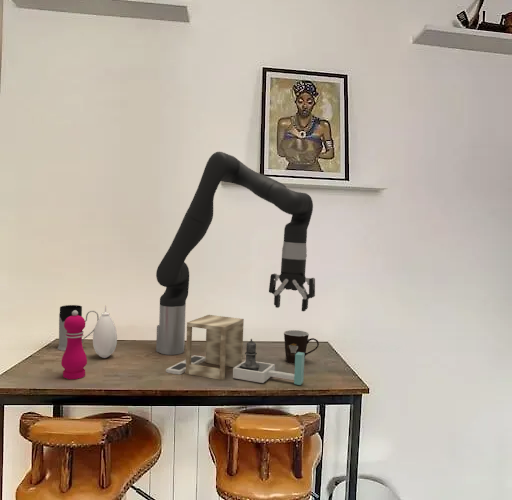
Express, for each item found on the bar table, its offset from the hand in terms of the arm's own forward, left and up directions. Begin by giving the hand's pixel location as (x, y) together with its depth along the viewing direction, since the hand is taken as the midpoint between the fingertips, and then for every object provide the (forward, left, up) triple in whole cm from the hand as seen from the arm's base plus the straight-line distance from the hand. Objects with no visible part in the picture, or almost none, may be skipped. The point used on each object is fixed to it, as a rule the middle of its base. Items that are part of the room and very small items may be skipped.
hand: (290, 309), depth 150 cm
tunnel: (-23, -5, -22) cm, 32 cm away
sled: (-4, -5, -21) cm, 22 cm away
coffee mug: (-2, +17, -22) cm, 28 cm away
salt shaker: (-11, -5, -22) cm, 25 cm away
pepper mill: (-58, -30, -22) cm, 68 cm away
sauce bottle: (-63, -10, -22) cm, 67 cm away
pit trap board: (-33, -5, -22) cm, 40 cm away
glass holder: (-79, -5, -22) cm, 82 cm away
